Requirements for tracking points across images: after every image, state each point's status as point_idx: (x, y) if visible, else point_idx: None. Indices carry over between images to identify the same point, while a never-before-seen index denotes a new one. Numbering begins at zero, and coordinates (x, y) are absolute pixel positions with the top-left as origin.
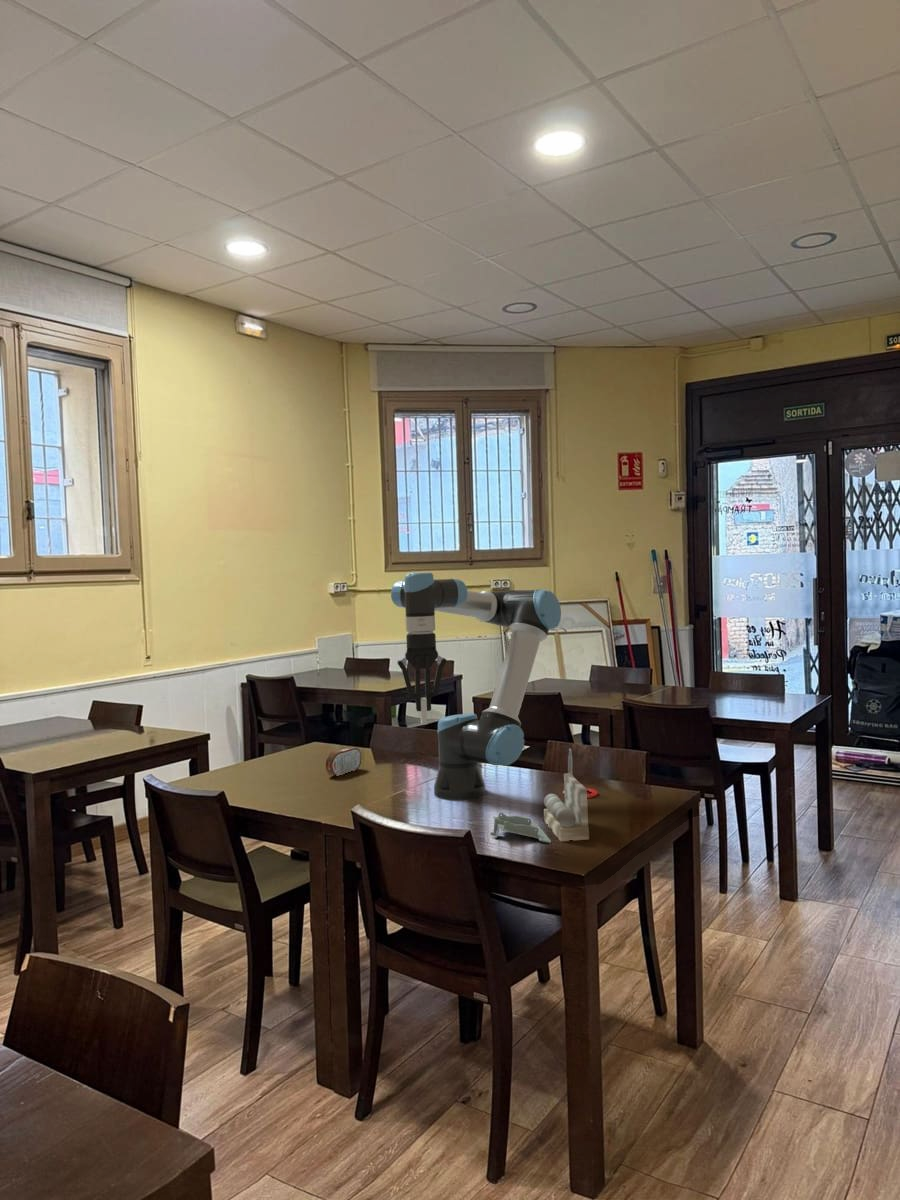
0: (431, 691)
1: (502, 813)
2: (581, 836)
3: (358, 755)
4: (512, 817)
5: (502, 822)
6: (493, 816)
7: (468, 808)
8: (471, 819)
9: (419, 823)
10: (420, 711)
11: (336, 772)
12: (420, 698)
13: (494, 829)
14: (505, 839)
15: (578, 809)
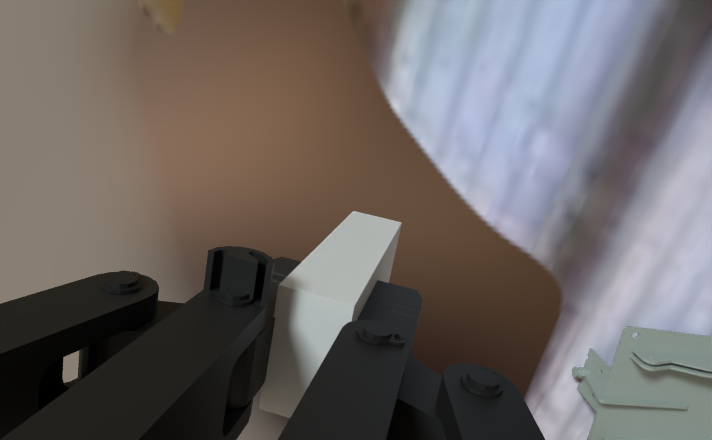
0: (415, 420)
1: (653, 370)
2: None
3: None
4: (685, 371)
5: (622, 400)
6: (628, 327)
7: (654, 21)
8: (599, 166)
9: (412, 130)
10: (327, 239)
11: None
12: (258, 384)
13: (588, 383)
14: None
15: None
